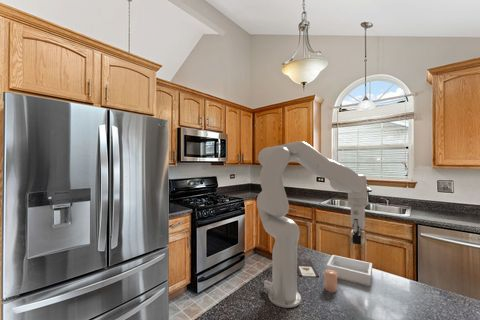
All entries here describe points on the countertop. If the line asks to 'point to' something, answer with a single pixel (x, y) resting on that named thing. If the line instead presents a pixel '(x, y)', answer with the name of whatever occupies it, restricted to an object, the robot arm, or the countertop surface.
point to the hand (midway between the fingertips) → (357, 241)
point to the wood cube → (361, 237)
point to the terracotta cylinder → (330, 280)
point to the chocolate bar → (306, 268)
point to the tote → (351, 270)
